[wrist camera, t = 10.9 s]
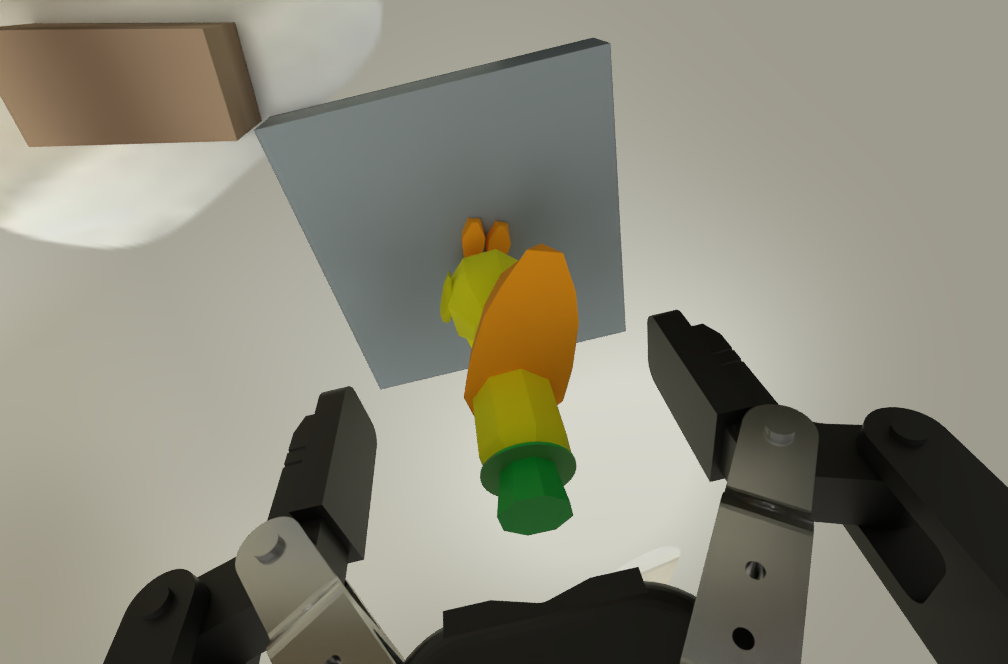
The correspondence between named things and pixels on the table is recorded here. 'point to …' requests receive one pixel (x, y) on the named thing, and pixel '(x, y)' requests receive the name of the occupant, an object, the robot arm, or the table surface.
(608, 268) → the slate stand
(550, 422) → the toy figure
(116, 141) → the walnut brick
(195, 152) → the table surface
